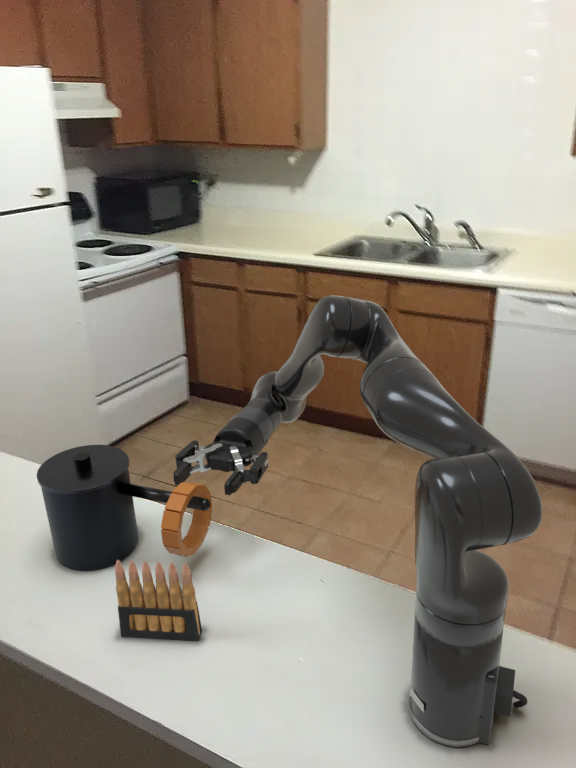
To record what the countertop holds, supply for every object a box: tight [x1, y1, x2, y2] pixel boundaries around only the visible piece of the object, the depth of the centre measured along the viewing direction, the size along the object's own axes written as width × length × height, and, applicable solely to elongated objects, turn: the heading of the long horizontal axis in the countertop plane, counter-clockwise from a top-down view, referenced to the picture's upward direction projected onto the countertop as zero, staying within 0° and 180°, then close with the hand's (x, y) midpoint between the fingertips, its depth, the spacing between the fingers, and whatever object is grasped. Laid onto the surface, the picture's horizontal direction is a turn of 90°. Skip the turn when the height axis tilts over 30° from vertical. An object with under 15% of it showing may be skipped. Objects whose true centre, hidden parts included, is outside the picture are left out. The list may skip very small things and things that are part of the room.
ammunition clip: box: [114, 559, 203, 642], centre depth 87 cm, size 11×2×12 cm, turn 84°
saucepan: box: [36, 444, 211, 572], centre depth 102 cm, size 28×14×16 cm, turn 69°
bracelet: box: [160, 481, 213, 557], centre depth 98 cm, size 3×10×10 cm, turn 159°
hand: (201, 485), depth 101 cm, fingers open, 8 cm apart
